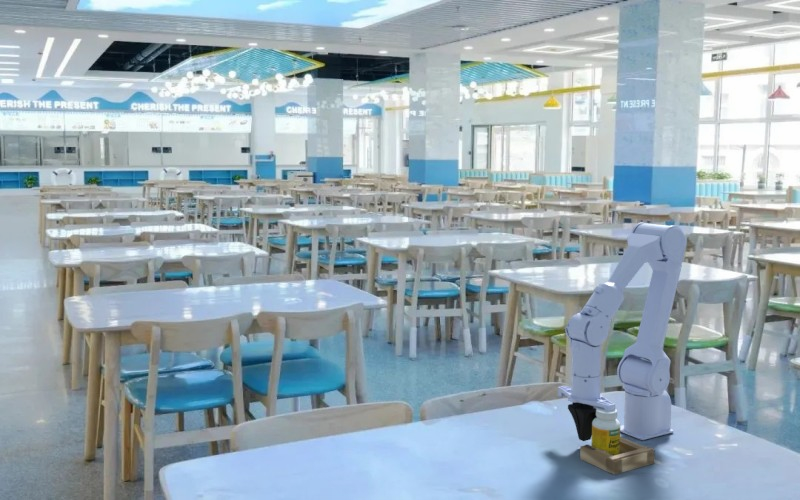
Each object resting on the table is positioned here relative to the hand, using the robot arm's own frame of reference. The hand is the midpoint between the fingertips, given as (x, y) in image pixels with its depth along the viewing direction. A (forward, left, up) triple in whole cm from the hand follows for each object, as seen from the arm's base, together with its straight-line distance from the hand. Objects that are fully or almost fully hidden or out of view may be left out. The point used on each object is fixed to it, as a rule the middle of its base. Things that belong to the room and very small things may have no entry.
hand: (584, 439), depth 166 cm
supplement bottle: (+1, +6, -2) cm, 6 cm away
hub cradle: (0, +9, -2) cm, 9 cm away
